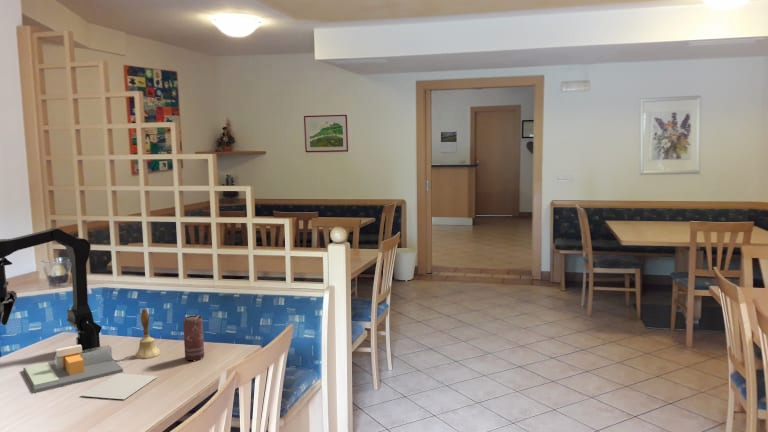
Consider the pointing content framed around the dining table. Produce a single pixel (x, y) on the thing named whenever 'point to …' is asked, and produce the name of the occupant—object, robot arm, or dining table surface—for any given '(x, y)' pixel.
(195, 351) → the can
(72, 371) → the orange block
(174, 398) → the dining table surface
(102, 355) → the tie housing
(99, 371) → the slate board
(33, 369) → the pad
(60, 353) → the cream bar
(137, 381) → the paper stack
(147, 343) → the hand bell
